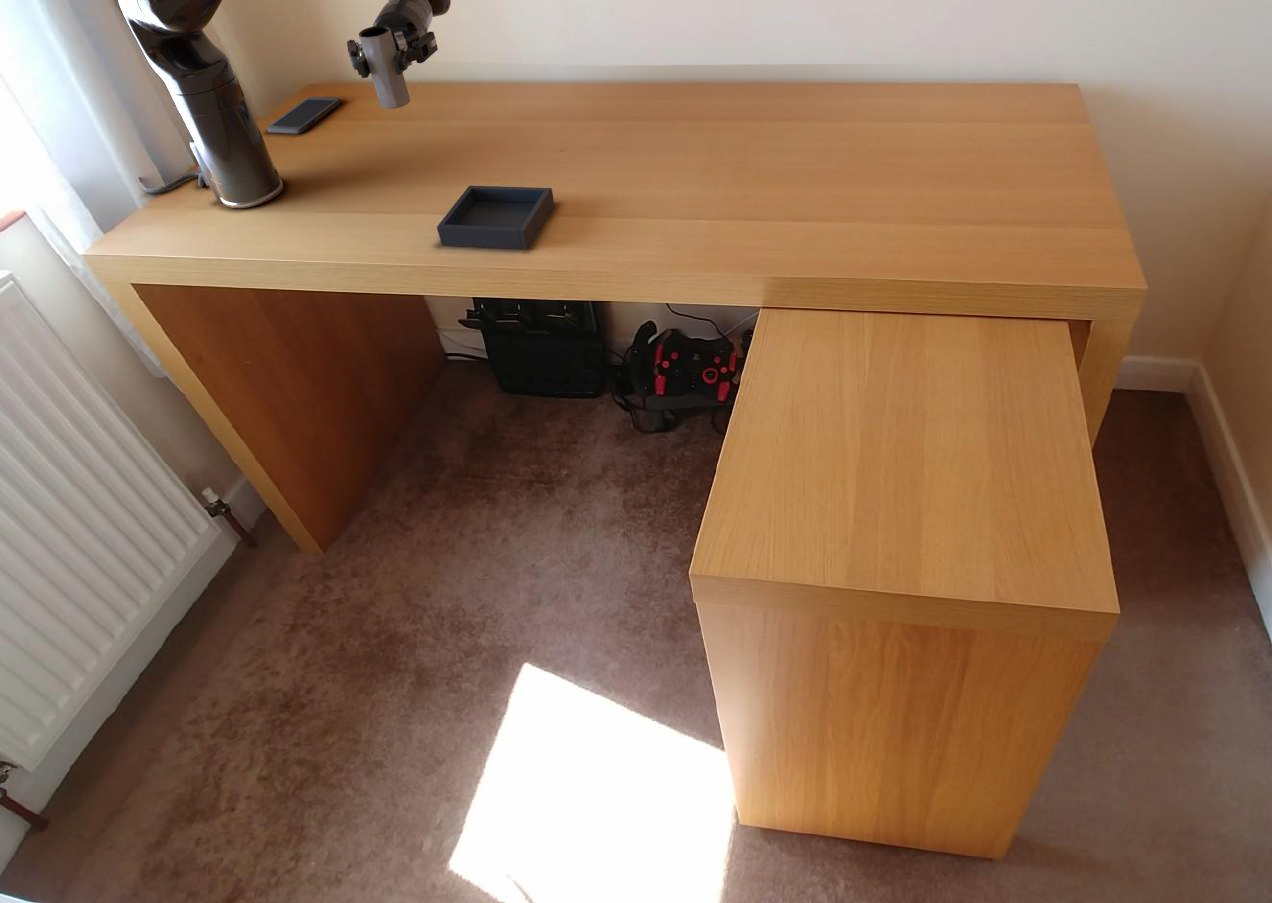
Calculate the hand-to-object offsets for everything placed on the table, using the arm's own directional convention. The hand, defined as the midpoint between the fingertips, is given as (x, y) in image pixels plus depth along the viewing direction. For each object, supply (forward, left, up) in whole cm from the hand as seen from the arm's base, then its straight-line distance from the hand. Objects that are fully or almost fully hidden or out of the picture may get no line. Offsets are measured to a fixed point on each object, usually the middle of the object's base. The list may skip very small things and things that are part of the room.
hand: (380, 69), depth 119 cm
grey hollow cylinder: (-1, +3, -6) cm, 7 cm away
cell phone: (-30, +19, -16) cm, 39 cm away
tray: (+21, -15, -16) cm, 30 cm away
